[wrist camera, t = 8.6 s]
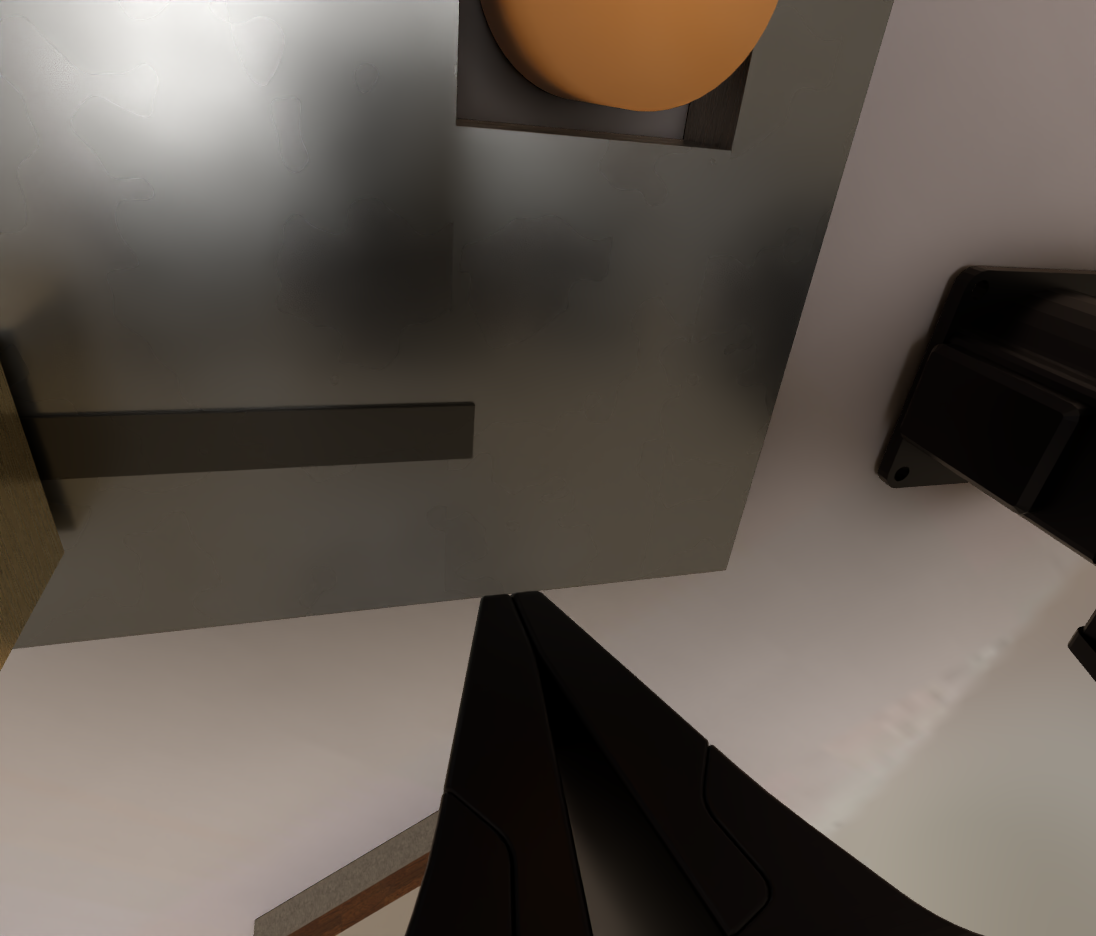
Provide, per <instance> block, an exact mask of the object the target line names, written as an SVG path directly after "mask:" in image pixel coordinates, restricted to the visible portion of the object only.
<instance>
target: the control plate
mask: <svg viewBox="0 0 1096 936" xmlns="http://www.w3.org/2000/svg"><path fill="white" fill-rule="evenodd" d="M893 2H894V0H778V2H777V5H776V8H775V10H774V12H773V14H772V16H771V19H770V21H769V23H768V25H767V27H766V29H765V31H764V32H763V34H762V35H761V37H760V39H759V40H758V42H757V44H756V45H755V47H754V48H753V49H752V51H751V52H750V53H749V55H748V56H747V57H746V59H745V60H744V61H743V63H742V64H741V65H740V66H739V67H738V68H737V69H736V70H735V71H734V72H733V73H732V74H731V75H730V76H729V77H728V78H727V79H726V80H724V81H723V82H722V83H721V84H720V85H718V86H717V87H716V88H715V89H713V90H711V91H710V92H708V93H707V94H705V95H704V96H702V97H700V98H698V99H696V100H694V101H692V102H690V105H689V111H688V116H687V122H686V128H685V133H684V139H683V140H681V139H671V138H660V137H649V136H638V135H628V134H617V133H606V132H596V131H585V130H574V129H564V128H553V127H542V126H532V125H521V124H510V123H500V122H489V121H478V120H468V119H457V118H456V102H457V61H458V21H459V0H0V362H1V365H2V368H3V371H4V374H5V377H6V380H7V383H8V386H9V389H10V392H11V395H12V398H13V401H14V404H15V407H16V410H17V413H18V416H19V419H20V422H21V425H22V428H23V431H24V433H25V436H26V439H27V442H28V445H29V448H30V451H31V454H32V457H33V460H34V463H35V466H36V469H37V472H38V475H39V478H40V481H41V484H42V487H43V490H44V493H45V496H46V499H47V502H48V505H49V508H50V511H51V514H52V517H53V520H54V523H55V526H56V529H57V532H58V535H59V538H60V541H61V544H62V547H63V550H64V554H63V556H62V558H61V560H60V562H59V563H58V565H57V567H56V569H55V571H54V573H53V575H52V576H51V578H50V580H49V582H48V584H47V586H46V588H45V589H44V591H43V593H42V595H41V597H40V599H39V600H38V602H37V604H36V606H35V608H34V610H33V612H32V613H31V615H30V617H29V619H28V621H27V623H26V624H25V626H24V628H23V630H22V632H21V634H20V636H19V637H18V639H17V641H16V643H15V645H14V647H13V648H12V649H16V648H25V647H34V646H43V645H52V644H61V643H70V642H79V641H88V640H97V639H106V638H115V637H124V636H134V635H143V634H152V633H161V632H170V631H179V630H188V629H197V628H206V627H215V626H224V625H233V624H242V623H251V622H260V621H270V620H279V619H288V618H297V617H306V616H315V615H324V614H333V613H342V612H351V611H360V610H369V609H378V608H387V607H396V606H406V605H415V604H424V603H433V602H442V601H451V600H460V599H469V598H478V597H483V596H486V595H495V594H513V593H515V592H525V591H541V590H551V589H560V588H569V587H578V586H587V585H596V584H605V583H614V582H623V581H632V580H641V579H650V578H659V577H668V576H677V575H687V574H696V573H705V572H714V571H723V570H726V568H727V564H728V561H729V557H730V554H731V551H732V547H733V544H734V540H735V537H736V534H737V530H738V527H739V523H740V520H741V517H742V513H743V510H744V507H745V503H746V500H747V496H748V493H749V490H750V486H751V483H752V479H753V476H754V473H755V469H756V466H757V462H758V459H759V456H760V452H761V449H762V446H763V442H764V439H765V435H766V432H767V429H768V425H769V422H770V418H771V415H772V412H773V408H774V405H775V401H776V398H777V395H778V391H779V388H780V385H781V381H782V378H783V374H784V371H785V368H786V364H787V361H788V357H789V354H790V351H791V347H792V344H793V340H794V337H795V334H796V330H797V327H798V324H799V320H800V317H801V313H802V310H803V307H804V303H805V300H806V296H807V293H808V290H809V286H810V283H811V279H812V276H813V273H814V269H815V266H816V263H817V259H818V256H819V252H820V249H821V246H822V242H823V239H824V235H825V232H826V229H827V225H828V222H829V218H830V215H831V212H832V208H833V205H834V202H835V198H836V195H837V191H838V188H839V185H840V181H841V178H842V174H843V171H844V168H845V164H846V161H847V157H848V154H849V151H850V147H851V144H852V141H853V137H854V134H855V130H856V127H857V124H858V120H859V117H860V113H861V110H862V107H863V103H864V100H865V96H866V93H867V90H868V86H869V83H870V80H871V76H872V73H873V69H874V66H875V63H876V59H877V56H878V52H879V49H880V46H881V42H882V39H883V35H884V32H885V29H886V25H887V22H888V19H889V15H890V12H891V8H892V5H893Z"/></svg>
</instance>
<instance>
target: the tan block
mask: <svg viewBox="0 0 1096 936" xmlns="http://www.w3.org/2000/svg"><path fill="white" fill-rule="evenodd" d="M63 554H64V550H63V547H62V544H61V541H60V538H59V535H58V532H57V529H56V526H55V523H54V520H53V517H52V514H51V511H50V508H49V505H48V502H47V499H46V496H45V493H44V490H43V487H42V484H41V481H40V478H39V475H38V472H37V469H36V466H35V463H34V460H33V457H32V454H31V451H30V448H29V445H28V442H27V439H26V436H25V433H24V431H23V428H22V425H21V422H20V419H19V416H18V413H17V410H16V407H15V404H14V401H13V398H12V395H11V392H10V389H9V386H8V383H7V380H6V377H5V374H4V371H3V368H2V365H1V362H0V671H1V669H2V667H3V665H4V663H5V661H6V660H7V658H8V656H9V654H10V652H11V650H12V648H13V647H14V645H15V643H16V641H17V639H18V637H19V636H20V634H21V632H22V630H23V628H24V626H25V624H26V623H27V621H28V619H29V617H30V615H31V613H32V612H33V610H34V608H35V606H36V604H37V602H38V600H39V599H40V597H41V595H42V593H43V591H44V589H45V588H46V586H47V584H48V582H49V580H50V578H51V576H52V575H53V573H54V571H55V569H56V567H57V565H58V563H59V562H60V560H61V558H62V556H63Z"/></svg>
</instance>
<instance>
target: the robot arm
mask: <svg viewBox="0 0 1096 936" xmlns="http://www.w3.org/2000/svg"><path fill="white" fill-rule="evenodd" d="M975 285H976V286H975ZM974 286H975V288H974ZM973 288H974V289H973ZM972 289H973V291H972ZM878 476H879V478H880V479H881V480H882V481H883V482H885V483H886V484H887V485H889V486H890V487H892V488H903V487H916V486H929V485H942V484H955V483H968V482H969V483H971V484H972V485H974V486H975V487H977V488H978V489H980V490H981V491H983V492H984V493H986V494H987V495H989V496H990V497H992V498H993V499H995V500H996V501H998V502H999V503H1001V504H1002V505H1004V506H1005V507H1007V508H1008V509H1010V510H1011V511H1013V512H1015V513H1017V514H1018V515H1020V516H1021V517H1023V518H1024V519H1026V520H1027V521H1029V522H1030V523H1032V524H1033V525H1035V526H1036V527H1038V528H1039V529H1041V530H1042V531H1044V532H1045V533H1047V534H1048V535H1050V536H1051V537H1053V538H1054V539H1056V540H1057V541H1059V542H1060V543H1062V544H1063V545H1065V546H1066V547H1068V548H1069V549H1071V550H1072V551H1074V552H1075V553H1077V554H1078V555H1080V556H1081V557H1083V558H1084V559H1086V560H1088V561H1089V562H1091V563H1092V564H1094V565H1095V566H1096V271H1085V270H1060V269H1035V268H1010V267H985V266H974V267H969V268H968V269H966V270H964V271H963V272H962V273H961V274H960V275H959V276H958V277H957V278H956V280H955V282H954V284H953V286H952V288H951V291H950V293H949V296H948V298H947V301H946V303H945V306H944V308H943V311H942V313H941V316H940V318H939V321H938V323H937V325H936V328H935V330H934V333H933V335H932V338H931V340H930V343H929V345H928V348H927V350H926V353H925V355H924V358H923V360H922V363H921V365H920V368H919V370H918V373H917V375H916V378H915V380H914V383H913V385H912V387H911V390H910V392H909V395H908V397H907V400H906V402H905V405H904V407H903V410H902V412H901V415H900V417H899V420H898V422H897V425H896V427H895V430H894V432H893V435H892V437H891V440H890V442H889V445H888V447H887V450H886V452H885V454H884V457H883V459H882V462H881V464H880V467H879V471H878ZM1068 648H1069V649H1070V651H1071V652H1072V653H1073V654H1074V655H1075V657H1076V658H1077V659H1078V660H1079V662H1080V663H1081V664H1082V665H1083V666H1084V668H1085V669H1086V670H1087V672H1089V674H1090V675H1091V677H1092V678H1093V679H1094V680H1095V681H1096V610H1095V611H1094V613H1093V614H1092V616H1091V617H1090V619H1089V620H1088V622H1087V623H1086V625H1085V626H1082V627H1079V628H1078V629H1077V630H1076V632H1075V633H1074V635H1073V636H1072V638H1071V640H1070V641H1069V643H1068ZM708 745H709V743H708V740H707V739H706V738H704V737H703V736H702V735H701V734H700V733H699V732H698V731H697V730H695V729H694V728H693V727H692V726H691V725H690V724H689V723H688V722H686V721H685V720H684V719H683V718H682V717H681V716H680V715H679V714H677V713H676V712H675V711H674V710H673V709H672V708H671V707H670V706H668V705H667V704H666V703H665V702H664V701H663V700H662V699H661V698H659V697H658V696H657V695H656V694H655V693H654V692H653V691H652V690H650V689H649V688H648V687H647V686H646V685H645V684H644V683H643V682H641V681H640V680H639V679H638V678H637V677H636V676H635V675H634V674H632V673H631V672H630V671H629V670H628V669H627V668H626V667H625V666H623V665H622V664H621V663H620V662H619V661H618V660H617V659H616V658H614V657H613V656H612V655H611V654H610V653H609V652H608V651H607V650H605V649H604V648H603V647H602V646H601V645H600V644H599V643H598V642H596V641H595V640H594V639H593V638H592V637H591V636H590V635H589V634H587V633H586V632H585V631H584V630H583V629H582V628H581V627H580V626H578V625H577V624H576V623H575V622H574V621H573V620H572V619H571V618H569V617H568V616H567V615H566V614H565V613H564V612H563V611H562V610H560V609H559V608H558V607H557V606H556V605H555V604H554V603H552V602H551V601H550V600H549V599H548V598H547V597H546V596H545V595H543V594H542V593H541V592H539V591H525V592H515V593H513V594H512V595H511V596H510V595H508V594H495V595H486V596H483V597H482V598H481V601H480V606H479V611H478V616H477V621H476V626H475V631H474V636H473V642H472V647H471V652H470V657H469V662H468V667H467V672H466V677H465V682H464V688H463V693H462V698H461V703H460V708H459V713H458V718H457V723H456V728H455V733H454V739H453V744H452V749H451V754H450V759H449V764H448V769H447V774H446V779H445V785H444V793H443V795H442V798H441V803H440V808H439V813H438V819H437V824H436V828H435V832H434V836H433V841H432V845H431V849H430V853H429V858H428V862H427V866H426V870H425V873H424V876H423V879H422V883H421V886H420V889H419V892H418V896H417V899H416V902H415V905H414V908H413V912H412V915H411V918H410V921H409V924H408V927H407V930H406V933H405V935H404V936H984V935H981V934H978V933H975V932H972V931H969V930H967V929H965V928H962V927H960V926H957V925H955V924H953V923H951V922H949V921H947V920H945V919H943V918H941V917H939V916H938V915H936V914H934V913H932V912H931V911H929V910H927V909H926V908H924V907H922V906H921V905H919V904H917V903H916V902H914V901H913V900H912V899H910V898H909V897H907V896H906V895H905V894H903V893H902V892H900V891H899V890H898V889H896V888H895V887H894V886H892V885H891V884H889V883H888V882H887V881H885V880H884V879H883V878H881V877H880V876H878V875H877V874H876V873H875V872H873V871H872V870H871V869H869V868H868V867H867V866H865V865H864V864H862V863H861V862H860V861H858V860H857V859H856V858H854V857H853V856H852V855H850V854H849V853H848V852H846V851H845V850H844V849H842V848H841V847H839V846H838V845H837V844H835V843H834V842H833V841H831V840H830V839H829V838H827V837H826V836H825V835H823V834H822V833H821V832H819V831H818V830H817V829H815V828H814V827H813V826H811V825H810V824H808V823H807V822H806V821H805V820H803V819H802V818H801V817H799V816H798V815H797V814H795V813H794V812H793V811H792V810H790V809H789V808H788V807H786V806H785V805H784V804H783V803H781V802H780V801H779V800H777V799H776V798H775V797H774V796H772V795H771V794H770V793H768V792H767V791H766V790H765V789H764V788H762V787H761V786H760V785H759V784H758V783H756V782H755V781H754V780H753V779H752V778H751V777H749V776H748V775H747V774H746V773H745V772H744V771H742V770H741V769H740V768H739V767H738V766H736V765H735V764H734V763H733V762H732V761H731V760H730V759H728V758H727V757H726V756H725V755H724V754H723V753H722V752H721V751H719V750H718V749H717V748H716V747H715V746H714V745H710V746H709V747H708Z"/></svg>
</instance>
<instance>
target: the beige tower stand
mask: <svg viewBox="0 0 1096 936" xmlns="http://www.w3.org/2000/svg"><path fill="white" fill-rule="evenodd" d="M438 813H439V811H437V812H436V813H434V814H432V815H431V816H429V817H427V818H426V819H424V820H422V821H421V822H419V823H417V824H416V825H414V826H412V827H411V828H409V829H407V830H406V831H404V832H402V833H401V834H399V835H397V836H396V837H394V838H392V839H391V840H389V841H387V842H385V843H384V844H382V845H380V846H379V847H377V848H375V849H374V850H372V851H370V852H369V853H367V854H365V855H364V856H362V857H360V858H359V859H357V860H355V861H354V862H352V863H350V864H349V865H347V866H345V867H344V868H342V869H340V870H339V871H337V872H335V873H333V874H332V875H330V876H328V877H327V878H325V879H323V880H322V881H320V882H318V883H317V884H315V885H313V886H312V887H310V888H308V889H307V890H305V891H303V892H302V893H300V894H298V895H297V896H295V897H293V898H292V899H290V900H288V901H287V902H285V903H283V904H281V905H280V906H278V907H276V908H275V909H273V910H271V911H270V912H268V913H266V914H265V915H263V916H261V917H260V918H258V919H256V920H255V926H254V936H404V935H405V933H406V930H407V927H408V924H409V921H410V918H411V915H412V912H413V908H414V905H415V902H416V899H417V896H418V892H419V889H420V886H421V883H422V879H423V876H424V873H425V870H426V866H427V862H428V858H429V853H430V849H431V845H432V841H433V836H434V832H435V828H436V824H437V819H438Z"/></svg>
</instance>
